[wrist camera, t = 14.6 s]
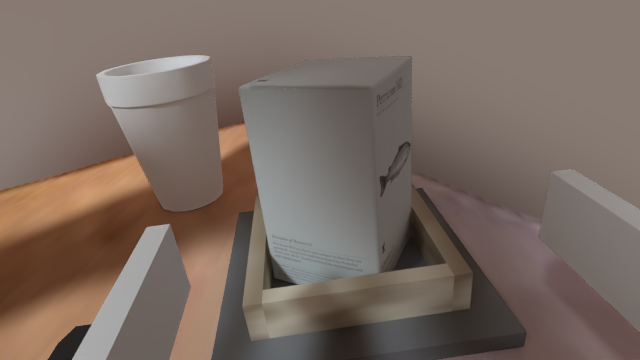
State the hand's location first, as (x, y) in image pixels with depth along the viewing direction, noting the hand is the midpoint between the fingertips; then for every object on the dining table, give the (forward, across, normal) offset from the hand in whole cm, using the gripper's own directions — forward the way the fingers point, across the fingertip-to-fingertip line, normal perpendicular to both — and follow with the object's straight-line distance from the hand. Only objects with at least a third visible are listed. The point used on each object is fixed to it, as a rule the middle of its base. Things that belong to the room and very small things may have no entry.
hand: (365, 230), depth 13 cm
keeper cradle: (+10, 0, -10) cm, 14 cm away
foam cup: (+25, -13, -10) cm, 30 cm away
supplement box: (+10, 0, -9) cm, 13 cm away
